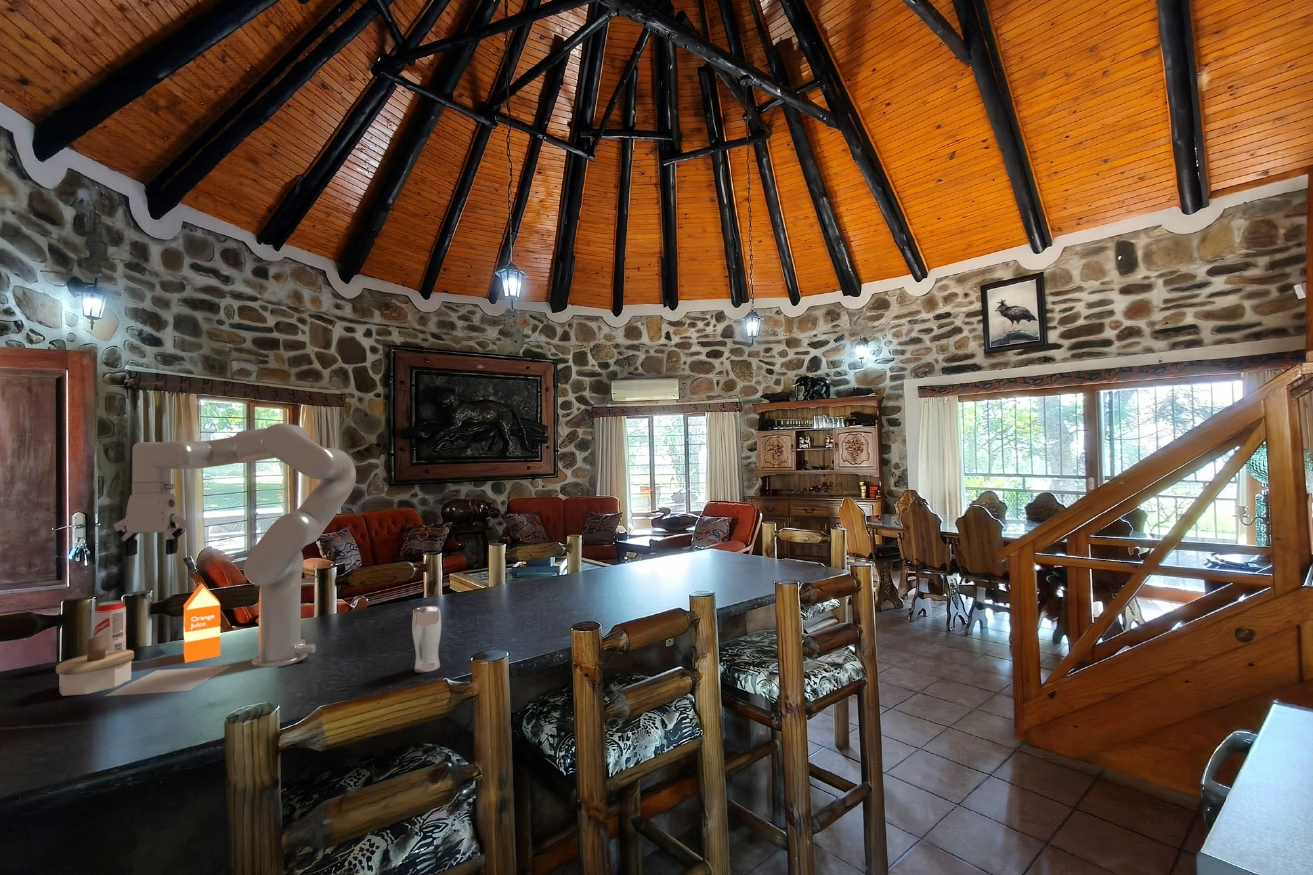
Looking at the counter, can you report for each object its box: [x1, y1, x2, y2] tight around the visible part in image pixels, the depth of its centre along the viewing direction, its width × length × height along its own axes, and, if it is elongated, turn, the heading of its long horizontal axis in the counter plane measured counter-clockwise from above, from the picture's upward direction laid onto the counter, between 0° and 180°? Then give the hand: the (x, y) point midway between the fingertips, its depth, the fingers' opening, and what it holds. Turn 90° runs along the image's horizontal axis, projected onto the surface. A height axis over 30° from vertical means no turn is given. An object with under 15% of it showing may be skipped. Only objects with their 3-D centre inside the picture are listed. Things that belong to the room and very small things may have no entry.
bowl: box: [58, 660, 132, 697], centre depth 140 cm, size 12×12×6 cm
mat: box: [104, 665, 232, 697], centre depth 142 cm, size 18×16×1 cm
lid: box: [55, 636, 135, 675], centre depth 140 cm, size 14×14×6 cm
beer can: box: [94, 599, 127, 651], centre depth 159 cm, size 6×6×16 cm
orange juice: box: [183, 582, 221, 663], centre depth 161 cm, size 8×9×20 cm
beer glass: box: [411, 605, 442, 673], centre depth 148 cm, size 7×7×15 cm
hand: (151, 554), depth 151 cm, fingers open, 9 cm apart
